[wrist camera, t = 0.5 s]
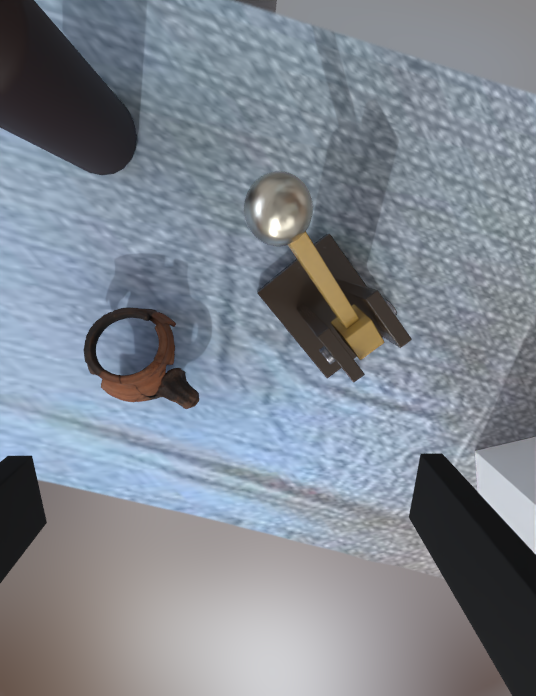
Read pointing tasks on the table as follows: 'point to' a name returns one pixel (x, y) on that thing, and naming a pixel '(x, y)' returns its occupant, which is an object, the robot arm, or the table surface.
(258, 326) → the table surface
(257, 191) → the tap lever
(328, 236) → the dark grey lever stand
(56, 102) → the bottle
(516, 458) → the milk
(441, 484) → the robot arm
